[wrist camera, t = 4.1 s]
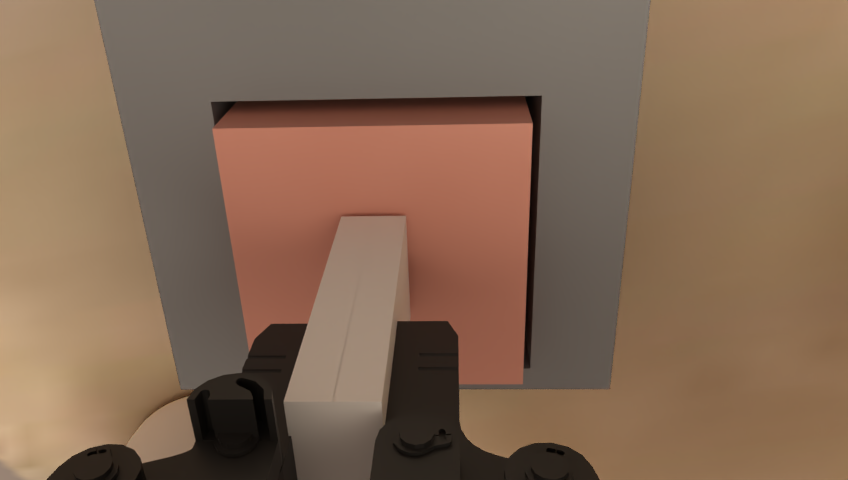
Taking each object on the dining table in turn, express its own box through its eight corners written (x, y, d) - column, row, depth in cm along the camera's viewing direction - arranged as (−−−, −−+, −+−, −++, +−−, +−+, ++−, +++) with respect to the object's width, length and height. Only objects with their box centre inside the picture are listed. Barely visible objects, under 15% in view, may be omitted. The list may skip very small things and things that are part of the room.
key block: (581, 294, 25) (609, 389, 20) (228, 296, 25) (180, 389, 21) (639, -448, 16) (709, -565, 12) (103, -421, 17) (-23, -522, 12)
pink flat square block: (513, 316, 22) (522, 384, 19) (279, 317, 22) (254, 384, 20) (521, 83, 19) (533, 122, 16) (248, 89, 19) (212, 128, 16)
